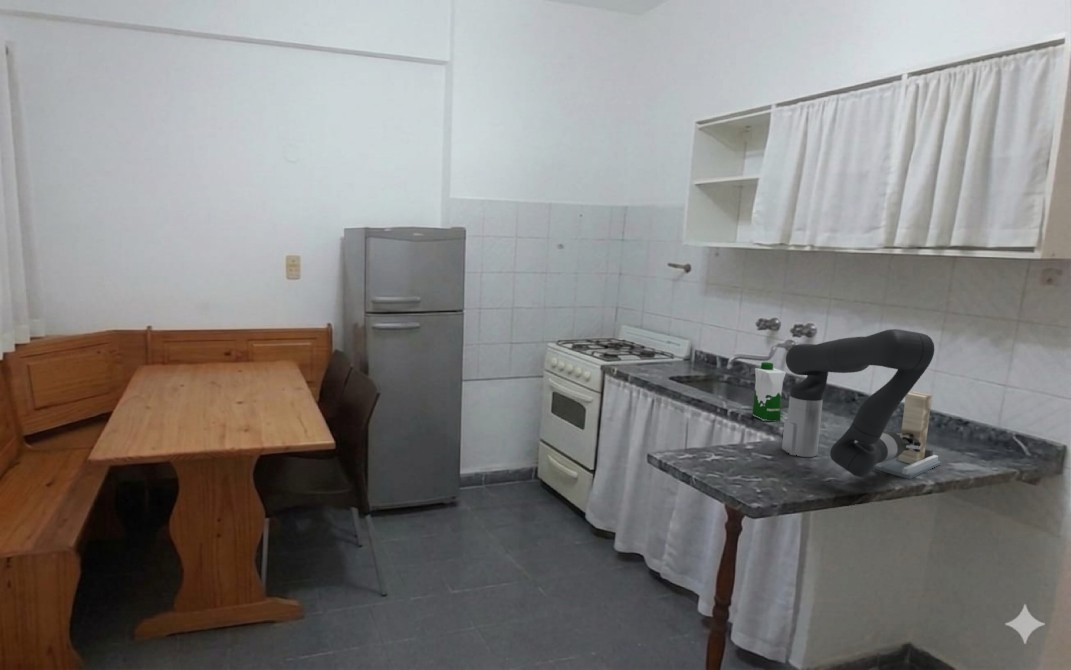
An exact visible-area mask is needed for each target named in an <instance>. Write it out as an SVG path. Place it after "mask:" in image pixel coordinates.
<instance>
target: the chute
mask: <svg viewBox="0 0 1071 670" xmlns="http://www.w3.org/2000/svg"><path fill="white" fill-rule="evenodd" d="M938 465H940V466H941V465H942V461H941V460H939V455H936V454H934V450H933V449H930V448H927V447H925V455H924V459H923V460H921V461H918V462H916V463H914V464H909V463H905V462H902V461H898V457H896V458H893V459H891V460H888V461H885V462H880V463H877V464H876V465H875V466H874V468H873V469H872V470H877V471H879V472H884V473H887V474H890V475H894V476H897V477H901V478H904V479H908V480H911V479H913V478H915V476H916V477H918V476H920V475H922V474H924V473H927V472H928V470H929V471H931V470H933V469H935V468H937V467H939V466H938ZM936 466H937V467H936ZM934 467H935V468H934ZM932 468H933V469H932ZM930 469H931V470H930ZM923 472H924V473H923ZM921 473H922V474H921ZM919 474H920V475H919ZM917 475H918V476H917Z"/></svg>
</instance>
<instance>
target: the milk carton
mask: <svg viewBox="0 0 1071 670" xmlns="http://www.w3.org/2000/svg"><path fill="white" fill-rule="evenodd" d="M754 372H755V373H754V374H755V384H754V385H755V386H754V397H753V406H752V407H753V408H752V414H754V415H756V416H758V417H760V418H762V419H767V420H780V421H781V414H782V413H781V409H782V408H781V404H782V395H783V394H782V393H783V384H784V380H785V376H786V373H787V372H786V371H784V370H781V369H778V368H774V363H773V362H767V361H766V362H765V361H764V362H761V365H760V367H758V368H754Z"/></svg>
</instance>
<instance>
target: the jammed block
mask: <svg viewBox="0 0 1071 670" xmlns="http://www.w3.org/2000/svg"><path fill="white" fill-rule="evenodd" d="M932 397H933V395H932V394H930V393H929V394H928V393H923V392H918V391H909V392H908V394H907V395H906V396H905V397H904V398H905V399H904V407H903V415H902V416H903V417H902V423H901V430H900V431H901V432H900V434H905V433H911V434H913V436H914V438H916V439H917V440H918V441H919V442H920V443H921V446H920V452H916V451H914V450H912V448H910V449H909V450H905V451H903V452H902V454H901V455H899V456H898V461H902V462H905V463H909V464H914V463H916V462H918V461H921V460H923V459H924V455H925V448H927V447H926V445H927V437H928V429H929V422H930V414H931V405H932Z"/></svg>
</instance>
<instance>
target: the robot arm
mask: <svg viewBox="0 0 1071 670" xmlns="http://www.w3.org/2000/svg"><path fill="white" fill-rule="evenodd" d="M934 356H935V343H934V341H933V339H932V338H931V337H930V336H929V335H927V334H924V333H921V332H916V331H911V330H910V331H909V330H903V329H899V328H895V329H894V328H893V329H885V330H882V331H880V332H877V333H873V334H870V335H865V336H852V337H845V338H843V337H842V338H837V339H834V340H829V341H825V342H821V343H817V344H811V343H809V344H808V343H802V344H801V343H799V344H798V343H797V344H795V345H792V346H791V347H790V348H789V349H788V351H787V352H786V355H785V364H786V366H787V368H788V370H789V371H790V372H791V373H792V374H794V375H797V376H806V377H805V379H804V380H802V381H801V382H798V383H796V384H794V385H792V386H790V389H789V397H788V408H787V409H788V411H787V418H785V419H784V424H783V434H782V443H781V449H782V450H783V451H784V452H785V453H787V454H788V453H789V455H790V456H796V455H797V456H796V457H805V458H812V457H813V458H814V457H817V456H818V452H819V451H818V449H819V440H820V430H821V420H822V419H821V418H822V412H823V411H822V410H823V400H824V394H825V392H826V388H827V383H828V376H829V373H836V374H837V373H838V374H851V373H859V372H862V371H864V370H866V369H867V368H868V367H869V366H876V367H878V366H879V367H884V368H888V369H894V370H897V371H896V372H895V373H894V375H893V376H892V377H891V378H890V379H889V380H888V381H887V382H886V384H884V385H882V386H881V387H880V388H879V389H878V390H877V391H875V392H874V393H872V394H871V395H870V396H868V397H867V398H866V400H864V401H863V402H862V404H861V405H860V407H859V408H858V410H857V413H856V415H855V417H854V418H853V421H852V423H851V424H850V426H849V428H848V429H847V430H846V431H845V432H844V434H843V435H842V436H841V437H839V439H837V441H836V442H835V443H833V445H832V446H831V448H830V452H829V455H830V459H831V460H832V462H833V463H836V465H838V466H840V467H841V468H843V469H844V470H846V471H847V472H849V473H851V475H853V476H854V477H855V476H856V477H858V478H864V477H867V476H868V475H869V474H871V473H872V471H873V470H874V469H873V468H874V466H875V465H876V464H877V463H880V462H885V461H888V460H891V459H893V458H896V457H898V456H899V455H901V454H902V452H903V451H905V450H909V449H910V448H912V450H914V451H916V452H920V446H921V443H920V442H919V441H918V440H917V439H916V438H914V436H913V434H911V433H905V434H901V433H896V432H894V431H891V430H885V429H886V427H887V425H888V423H889V421H890V419H891V418H892V416H893V414H894V412H895V411H896V410H897V408H898V406H899V405H900V404H901V403H902V401H903V400H905V399H904V398H905V397H906V395H907V394H908V393H910V392H911V390H912V389H913V387H914V386H915V384H916V383H917V382H918V381H919V379H921V377H922V375H923V374H924V373H925V372H926V370H927V368H928V367H929V366H930V364H931V362H932V360H933V357H934ZM855 441H856V442H855Z"/></svg>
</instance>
